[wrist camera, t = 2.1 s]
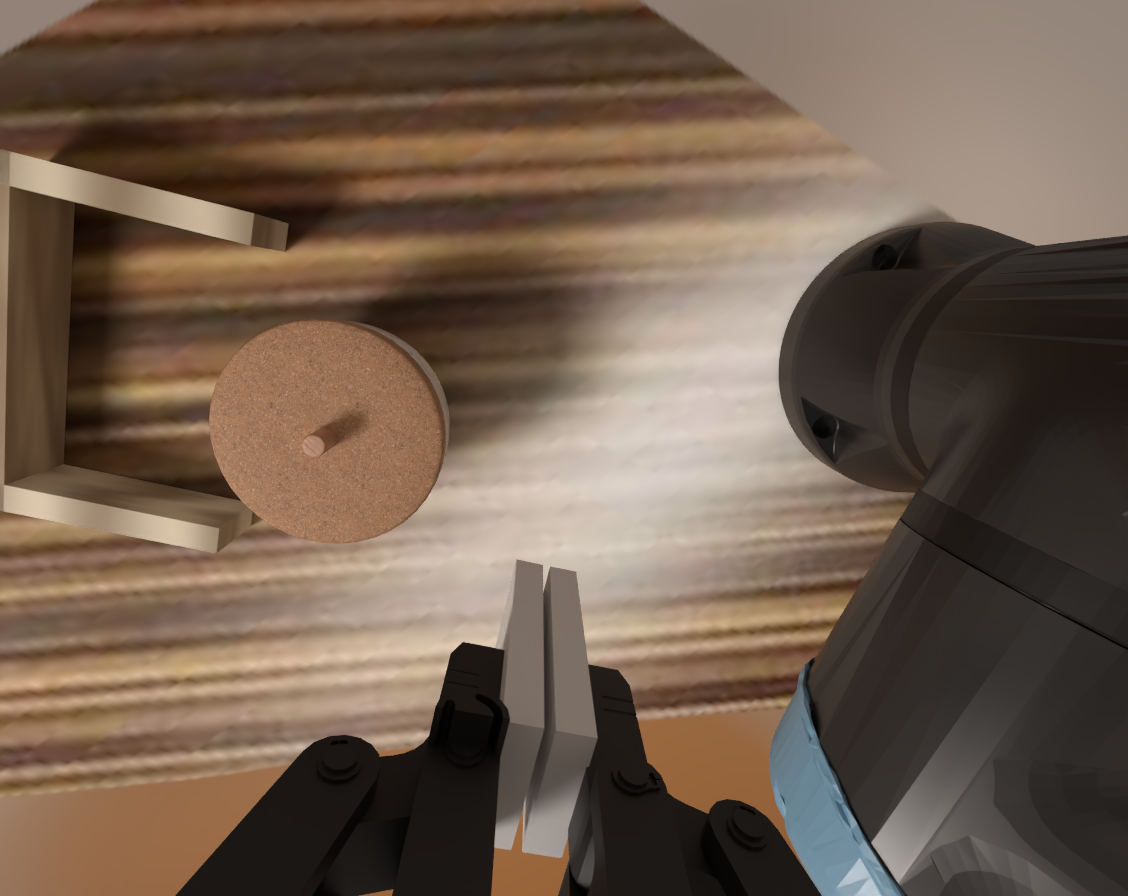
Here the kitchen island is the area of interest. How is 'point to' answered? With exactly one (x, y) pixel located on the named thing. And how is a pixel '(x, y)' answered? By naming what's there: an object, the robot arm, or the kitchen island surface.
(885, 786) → the robot arm
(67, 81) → the kitchen island surface
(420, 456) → the lidded jar
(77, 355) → the kitchen island surface
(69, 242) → the birch dock
